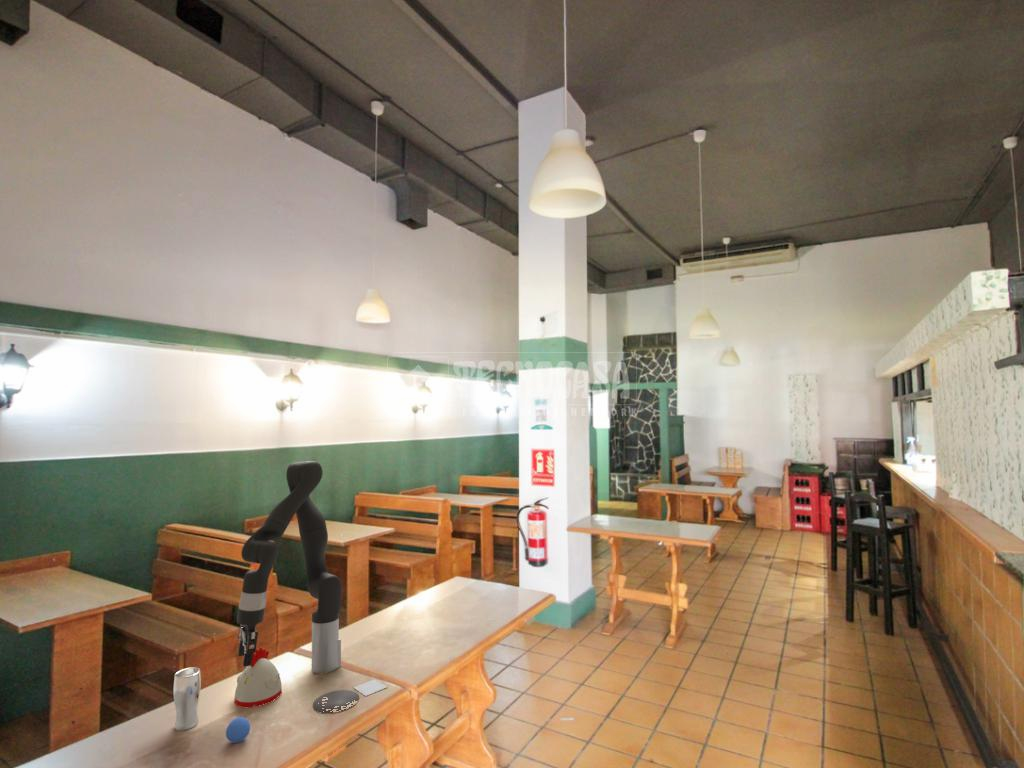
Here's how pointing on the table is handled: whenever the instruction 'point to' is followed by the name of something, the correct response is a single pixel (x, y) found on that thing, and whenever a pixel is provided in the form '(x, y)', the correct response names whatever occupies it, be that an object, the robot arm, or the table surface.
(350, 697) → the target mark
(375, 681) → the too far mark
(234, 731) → the ball
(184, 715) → the beer glass
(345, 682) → the table surface
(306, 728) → the table surface
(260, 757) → the table surface
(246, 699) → the kitchen timer
